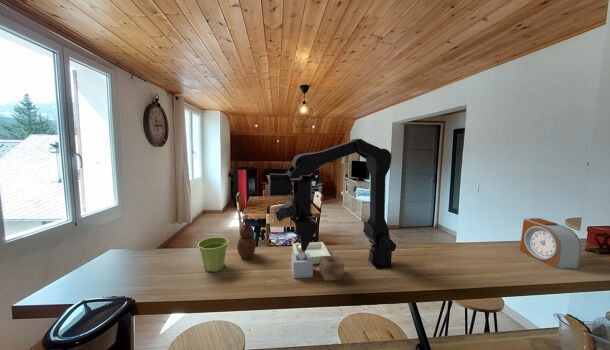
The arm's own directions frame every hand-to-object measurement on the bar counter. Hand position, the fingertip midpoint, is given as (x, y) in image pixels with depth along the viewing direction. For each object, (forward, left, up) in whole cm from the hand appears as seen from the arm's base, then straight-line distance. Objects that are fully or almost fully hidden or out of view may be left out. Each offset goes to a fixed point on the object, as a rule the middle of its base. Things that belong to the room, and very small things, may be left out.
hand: (301, 244), depth 76 cm
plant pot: (+28, -7, -10) cm, 30 cm away
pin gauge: (0, 0, -10) cm, 10 cm away
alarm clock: (-92, +2, -10) cm, 93 cm away
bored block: (0, 0, -10) cm, 10 cm away
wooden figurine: (+18, -14, -10) cm, 25 cm away
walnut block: (-9, +3, -10) cm, 14 cm away
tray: (-5, -11, -10) cm, 15 cm away
